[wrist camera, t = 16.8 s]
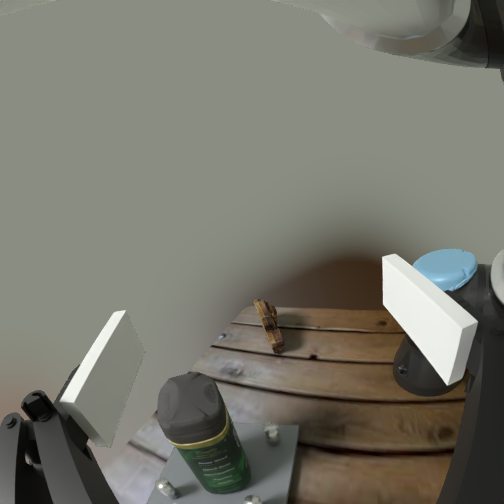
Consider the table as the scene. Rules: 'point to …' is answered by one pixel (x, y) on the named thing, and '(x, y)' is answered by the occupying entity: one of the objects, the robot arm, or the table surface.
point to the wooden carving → (270, 324)
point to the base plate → (261, 464)
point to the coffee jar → (203, 432)
